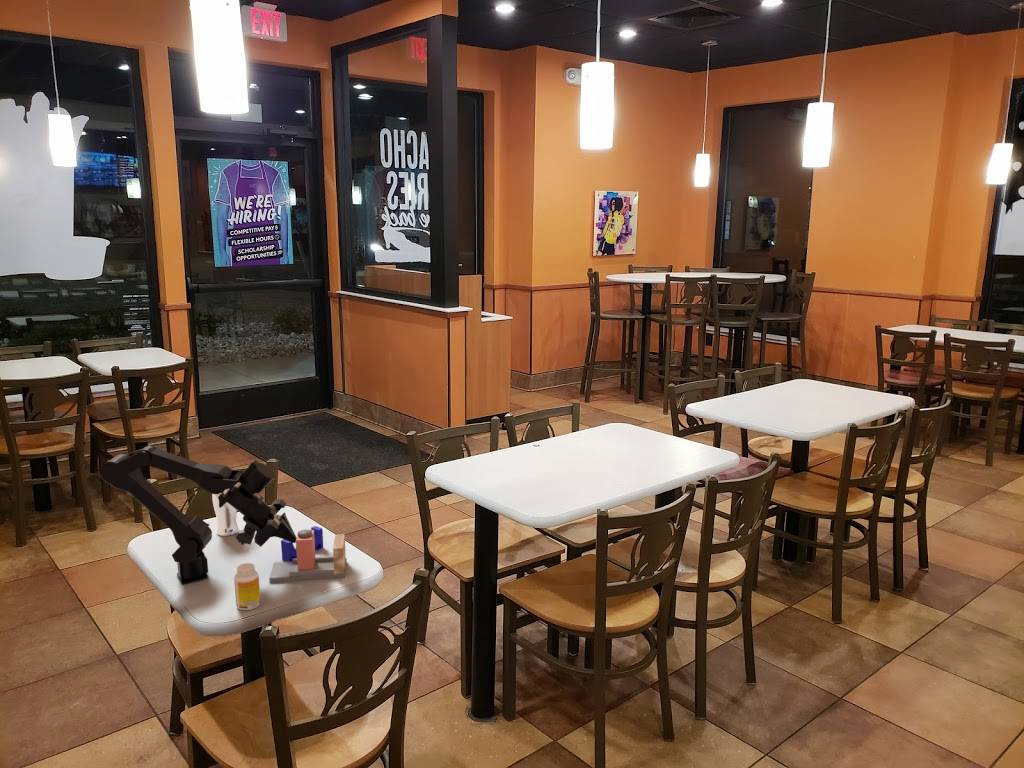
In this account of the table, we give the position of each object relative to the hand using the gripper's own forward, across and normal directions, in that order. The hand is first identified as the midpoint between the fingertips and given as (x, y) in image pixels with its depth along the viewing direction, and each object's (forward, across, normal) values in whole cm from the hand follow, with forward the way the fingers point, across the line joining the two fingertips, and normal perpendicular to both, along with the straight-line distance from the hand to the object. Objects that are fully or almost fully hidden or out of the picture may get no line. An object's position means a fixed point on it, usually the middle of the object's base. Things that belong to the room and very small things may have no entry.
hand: (295, 541), depth 199 cm
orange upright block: (+7, 0, -4) cm, 8 cm away
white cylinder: (-10, -30, -23) cm, 39 cm away
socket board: (+8, 0, -4) cm, 9 cm away
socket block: (+13, 0, +2) cm, 13 cm away
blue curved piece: (+6, -12, -7) cm, 16 cm away
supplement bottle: (-1, +16, -14) cm, 21 cm away
